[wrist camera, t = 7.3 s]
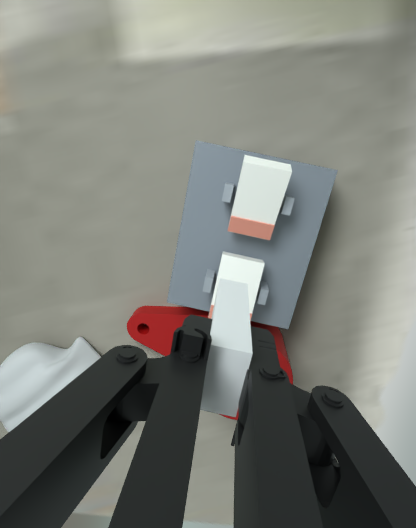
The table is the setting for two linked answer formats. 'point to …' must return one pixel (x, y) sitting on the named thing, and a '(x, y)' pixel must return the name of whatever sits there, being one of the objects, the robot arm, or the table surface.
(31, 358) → the shell shaped sculpture
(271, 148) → the table surface
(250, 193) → the rocker
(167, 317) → the lever
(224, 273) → the rocker
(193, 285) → the panel
